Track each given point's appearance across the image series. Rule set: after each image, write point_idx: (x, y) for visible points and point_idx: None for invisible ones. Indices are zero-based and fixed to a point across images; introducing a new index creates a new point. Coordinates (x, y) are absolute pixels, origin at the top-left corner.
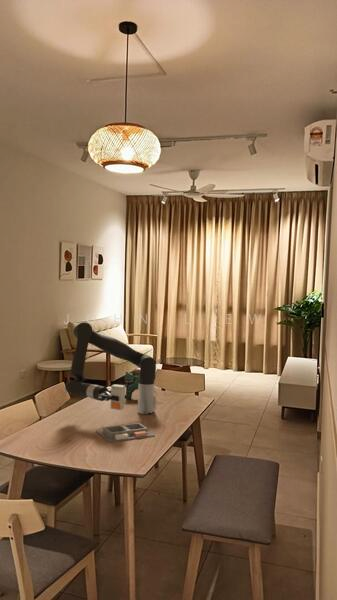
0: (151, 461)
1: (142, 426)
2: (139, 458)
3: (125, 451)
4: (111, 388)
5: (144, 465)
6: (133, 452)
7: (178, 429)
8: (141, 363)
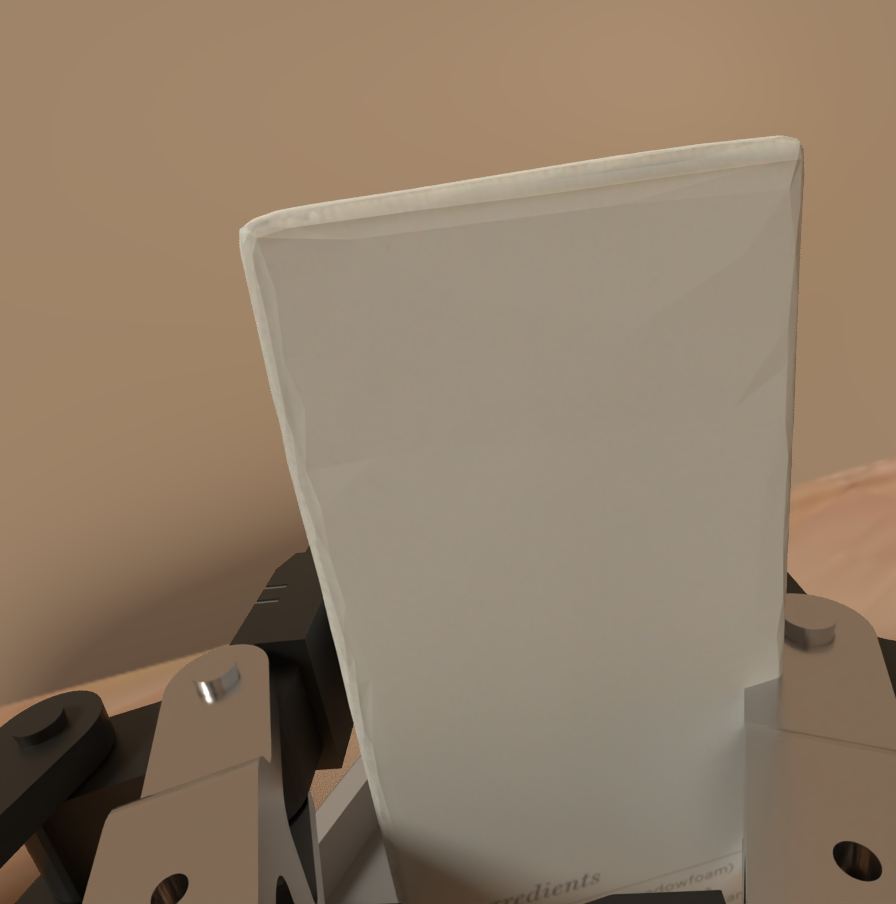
0: (791, 489)
1: (367, 780)
2: (841, 524)
3: (889, 617)
4: (794, 321)
5: (862, 479)
6: (829, 583)
7: (162, 677)
8: None
